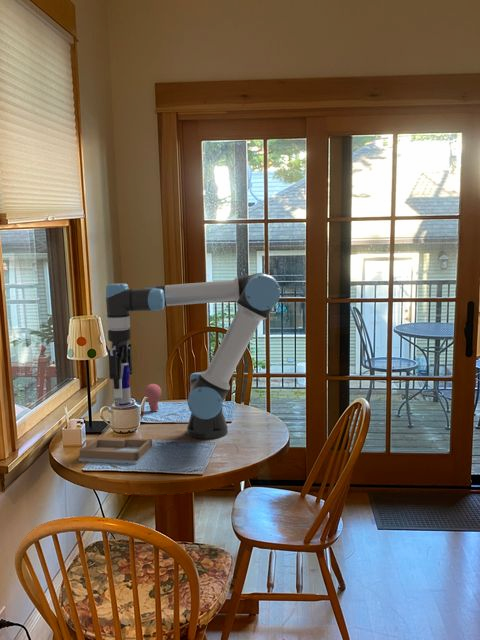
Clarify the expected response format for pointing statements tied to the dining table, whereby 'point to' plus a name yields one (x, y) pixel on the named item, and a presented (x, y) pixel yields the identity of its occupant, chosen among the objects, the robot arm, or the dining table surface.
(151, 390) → the light bulb
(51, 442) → the dining table surface
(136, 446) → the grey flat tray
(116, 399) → the beverage can
